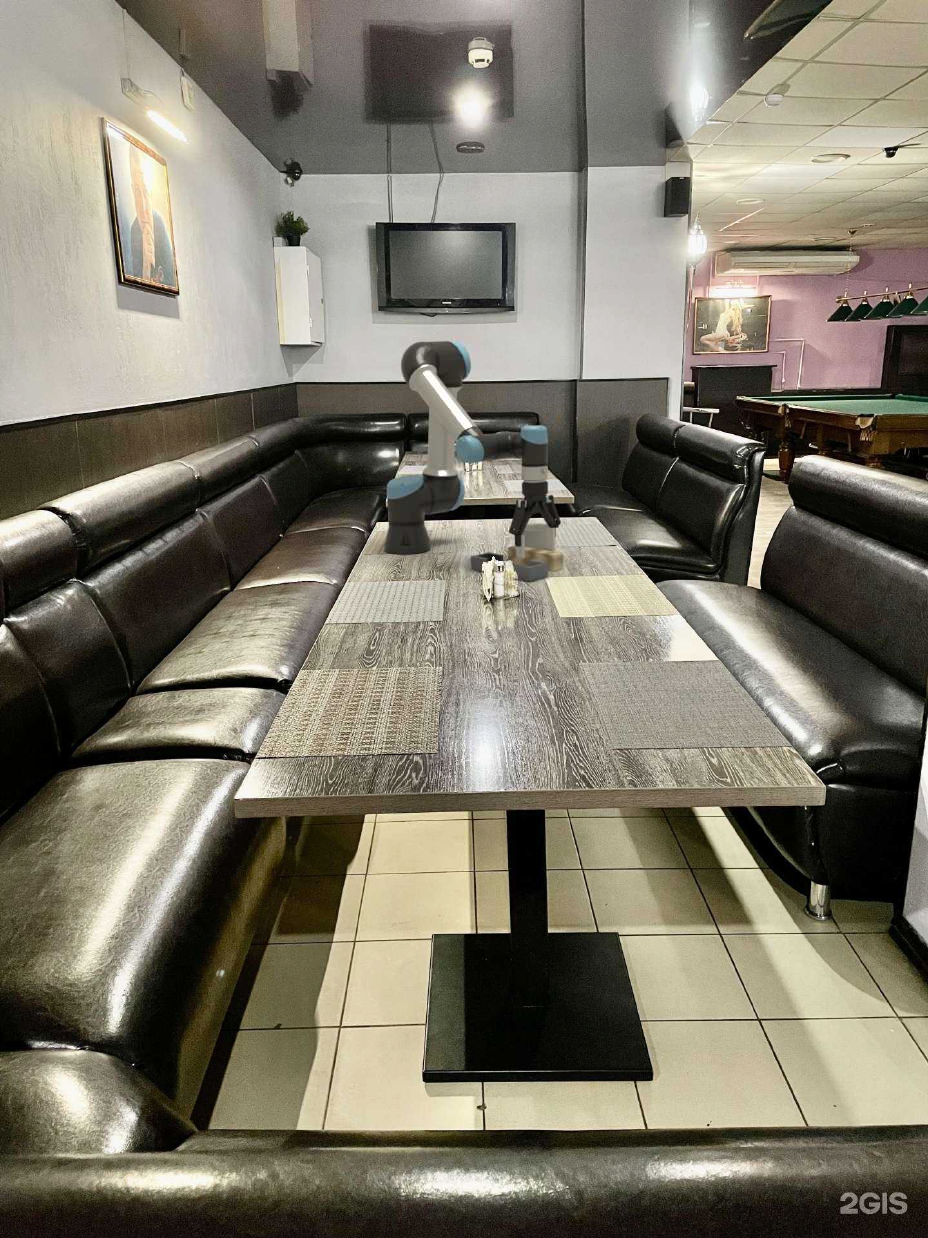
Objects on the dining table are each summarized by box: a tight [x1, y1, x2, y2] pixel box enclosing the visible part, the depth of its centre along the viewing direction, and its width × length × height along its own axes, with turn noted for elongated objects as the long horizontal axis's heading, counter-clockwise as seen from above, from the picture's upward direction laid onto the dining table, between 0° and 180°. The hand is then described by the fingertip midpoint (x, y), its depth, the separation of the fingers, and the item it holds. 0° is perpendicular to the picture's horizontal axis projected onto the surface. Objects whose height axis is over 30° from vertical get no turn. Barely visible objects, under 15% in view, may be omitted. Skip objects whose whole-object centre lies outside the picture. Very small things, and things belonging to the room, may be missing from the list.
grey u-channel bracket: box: [470, 551, 504, 573], centre depth 255 cm, size 6×8×4 cm
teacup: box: [522, 522, 550, 550], centre depth 279 cm, size 14×11×8 cm
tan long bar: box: [507, 545, 564, 572], centre depth 258 cm, size 18×4×5 cm, turn 45°
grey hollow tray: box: [513, 560, 549, 583], centre depth 243 cm, size 6×8×4 cm
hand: (535, 553), depth 257 cm, fingers open, 13 cm apart
